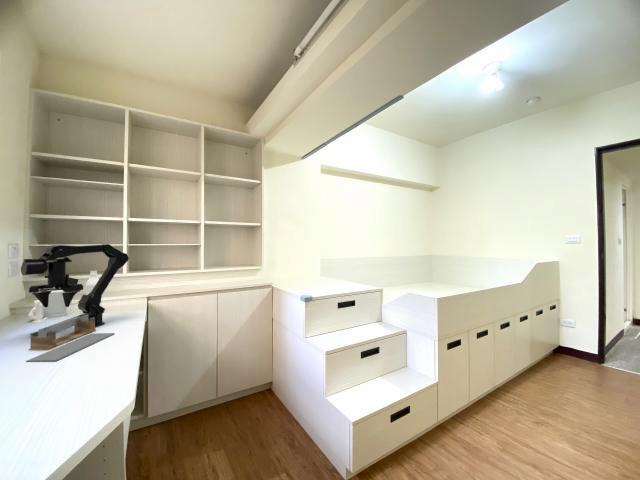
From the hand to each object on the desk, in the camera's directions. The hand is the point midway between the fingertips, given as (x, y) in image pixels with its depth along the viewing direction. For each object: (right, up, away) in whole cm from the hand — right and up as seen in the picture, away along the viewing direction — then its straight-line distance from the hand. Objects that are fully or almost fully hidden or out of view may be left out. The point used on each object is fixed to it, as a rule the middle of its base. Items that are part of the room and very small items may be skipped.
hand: (56, 307), depth 113 cm
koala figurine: (-29, -13, +18) cm, 36 cm away
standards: (+10, -12, -6) cm, 17 cm away
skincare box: (-29, -13, +27) cm, 42 cm away
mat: (+22, -12, -13) cm, 28 cm away
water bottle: (-15, -13, +35) cm, 41 cm away
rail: (+10, -7, -6) cm, 14 cm away
